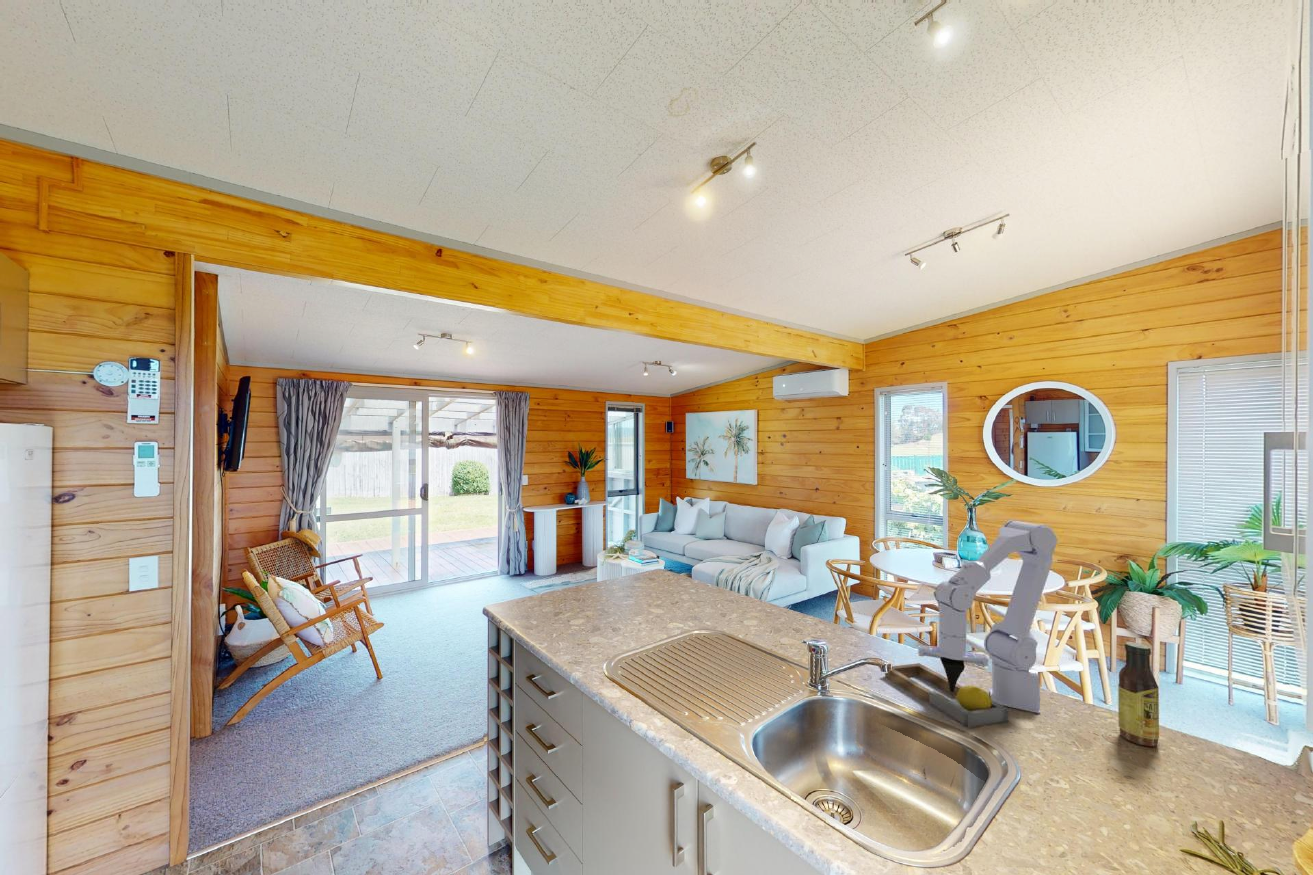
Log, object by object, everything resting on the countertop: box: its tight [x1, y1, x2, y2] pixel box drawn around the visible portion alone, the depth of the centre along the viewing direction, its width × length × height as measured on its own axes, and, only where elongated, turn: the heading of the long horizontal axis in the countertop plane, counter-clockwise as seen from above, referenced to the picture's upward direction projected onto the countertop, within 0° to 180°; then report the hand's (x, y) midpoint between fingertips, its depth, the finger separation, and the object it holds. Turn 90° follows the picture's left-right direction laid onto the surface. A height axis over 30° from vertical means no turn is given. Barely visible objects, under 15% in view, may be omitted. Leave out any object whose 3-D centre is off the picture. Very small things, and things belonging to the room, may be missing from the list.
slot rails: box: [884, 663, 963, 705], centre depth 131 cm, size 16×11×2 cm
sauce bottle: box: [1117, 641, 1160, 747], centre depth 107 cm, size 6×6×20 cm
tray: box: [929, 686, 1009, 729], centre depth 118 cm, size 11×11×3 cm
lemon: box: [955, 685, 992, 711], centre depth 117 cm, size 6×6×8 cm
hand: (951, 690), depth 121 cm, fingers closed, pressing on lemon
